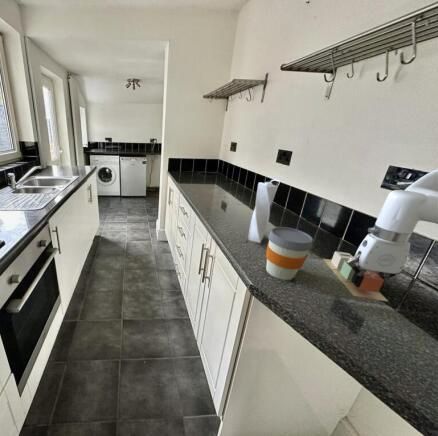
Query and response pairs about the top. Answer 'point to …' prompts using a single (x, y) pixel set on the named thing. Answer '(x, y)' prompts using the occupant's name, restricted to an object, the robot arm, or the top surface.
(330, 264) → the word mat
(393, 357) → the top surface
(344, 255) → the white cube
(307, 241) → the reusable coffee cup
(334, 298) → the top surface
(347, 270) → the green cube
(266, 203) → the twisted white column
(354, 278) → the robot arm
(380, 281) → the orange red cube
